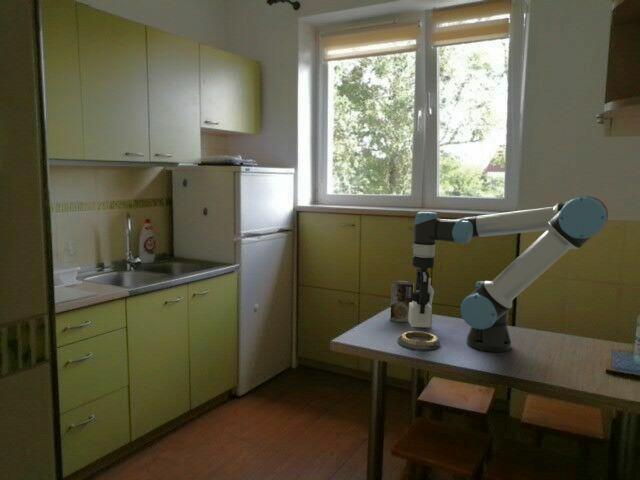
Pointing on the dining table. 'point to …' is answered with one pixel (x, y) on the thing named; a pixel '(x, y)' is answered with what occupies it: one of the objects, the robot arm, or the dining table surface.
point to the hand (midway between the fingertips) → (419, 318)
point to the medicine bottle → (414, 312)
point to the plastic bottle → (431, 292)
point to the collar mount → (419, 341)
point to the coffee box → (401, 300)
